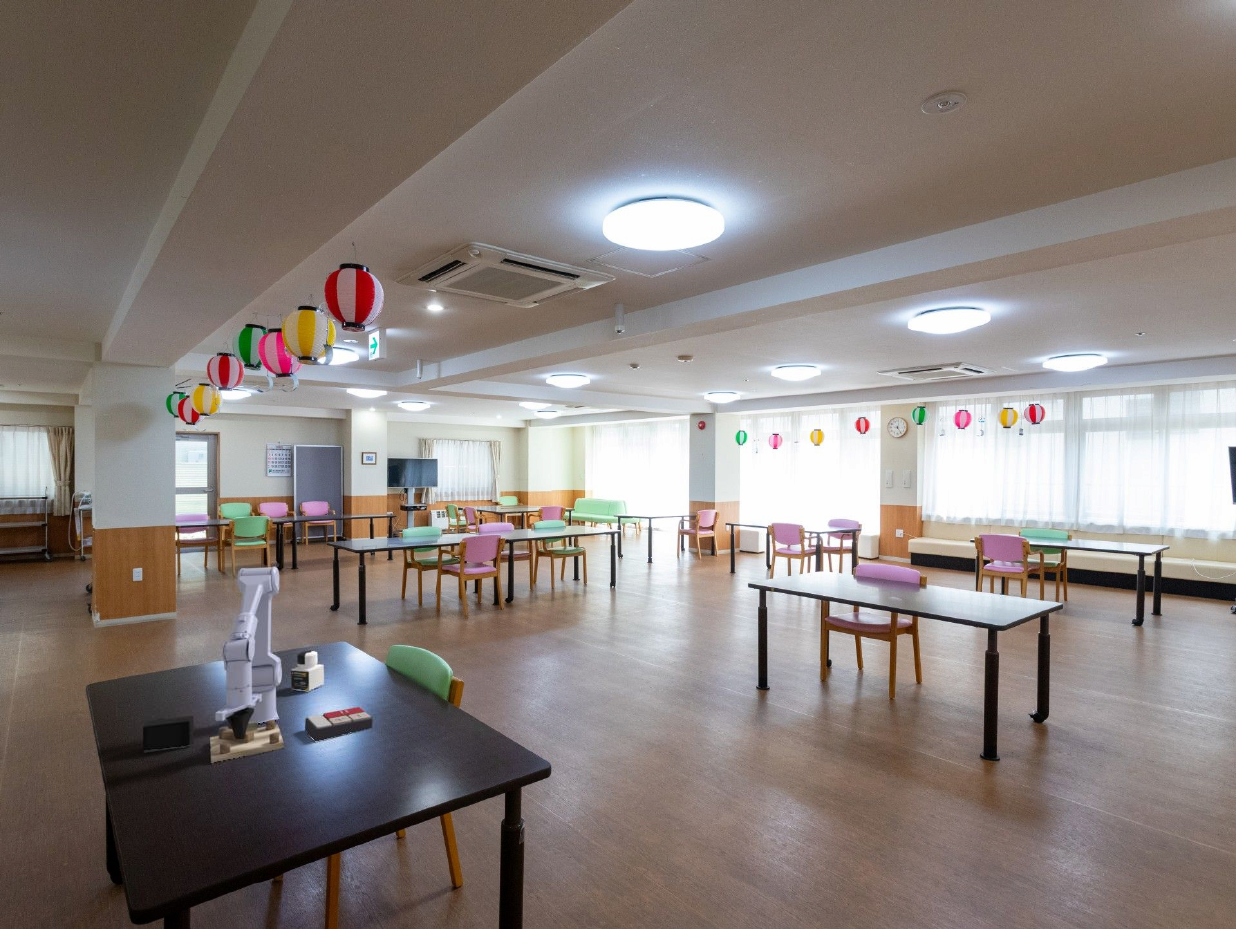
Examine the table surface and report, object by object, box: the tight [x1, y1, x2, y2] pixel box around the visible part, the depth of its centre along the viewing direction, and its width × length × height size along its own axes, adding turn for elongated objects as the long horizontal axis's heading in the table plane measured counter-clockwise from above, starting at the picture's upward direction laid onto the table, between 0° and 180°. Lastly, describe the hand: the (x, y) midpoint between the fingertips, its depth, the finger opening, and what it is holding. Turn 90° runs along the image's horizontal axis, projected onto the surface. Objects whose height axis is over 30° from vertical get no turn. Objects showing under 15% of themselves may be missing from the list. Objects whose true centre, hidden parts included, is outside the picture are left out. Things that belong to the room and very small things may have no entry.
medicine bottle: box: [290, 650, 325, 691], centre depth 222 cm, size 7×7×12 cm
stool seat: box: [209, 720, 285, 764], centre depth 175 cm, size 15×16×4 cm
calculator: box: [304, 706, 374, 742], centre depth 186 cm, size 11×4×15 cm
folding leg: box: [218, 726, 254, 742], centre depth 176 cm, size 10×2×2 cm, turn 73°
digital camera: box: [142, 715, 195, 751], centre depth 176 cm, size 10×5×7 cm, turn 110°
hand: (239, 738), depth 173 cm, fingers closed
